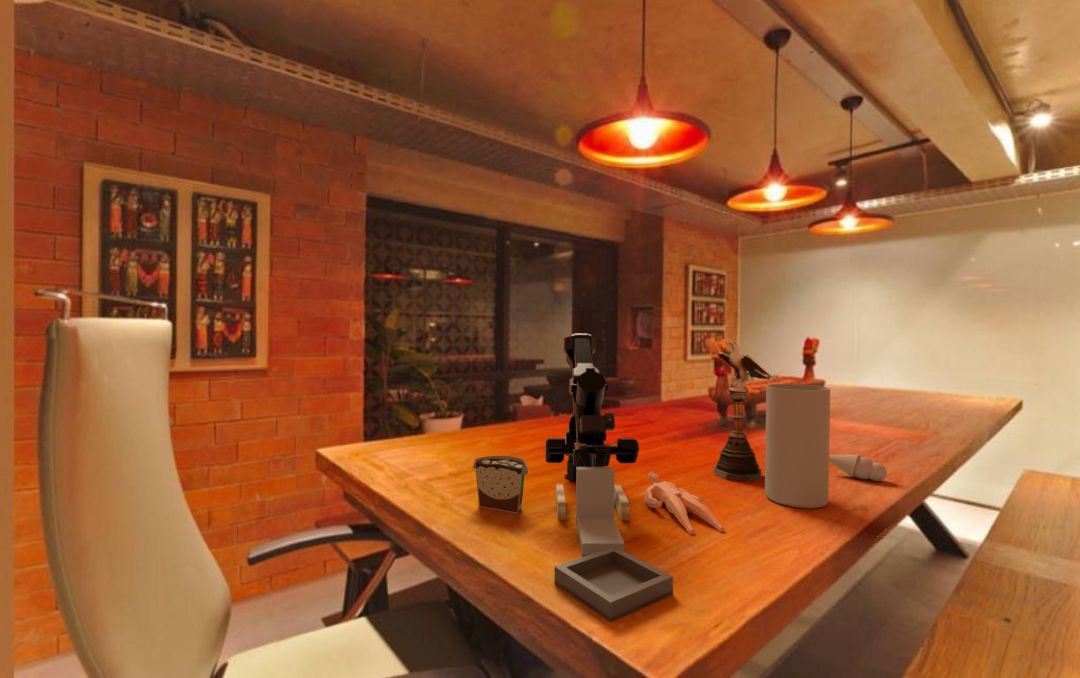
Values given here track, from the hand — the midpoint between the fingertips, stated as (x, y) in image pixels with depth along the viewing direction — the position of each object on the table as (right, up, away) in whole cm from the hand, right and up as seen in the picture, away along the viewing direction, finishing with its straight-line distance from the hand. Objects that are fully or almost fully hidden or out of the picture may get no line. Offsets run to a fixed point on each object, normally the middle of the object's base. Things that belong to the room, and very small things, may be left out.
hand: (594, 488), depth 98 cm
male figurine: (+18, -7, +8) cm, 21 cm away
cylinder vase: (+46, -7, +14) cm, 49 cm away
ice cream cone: (+69, -7, +32) cm, 76 cm away
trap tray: (0, -7, -25) cm, 26 cm away
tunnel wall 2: (+6, -7, +7) cm, 12 cm away
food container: (-18, -7, +9) cm, 21 cm away
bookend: (0, -7, -7) cm, 10 cm away
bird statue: (+43, -6, +35) cm, 55 cm away
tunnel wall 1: (-6, -6, +7) cm, 12 cm away
